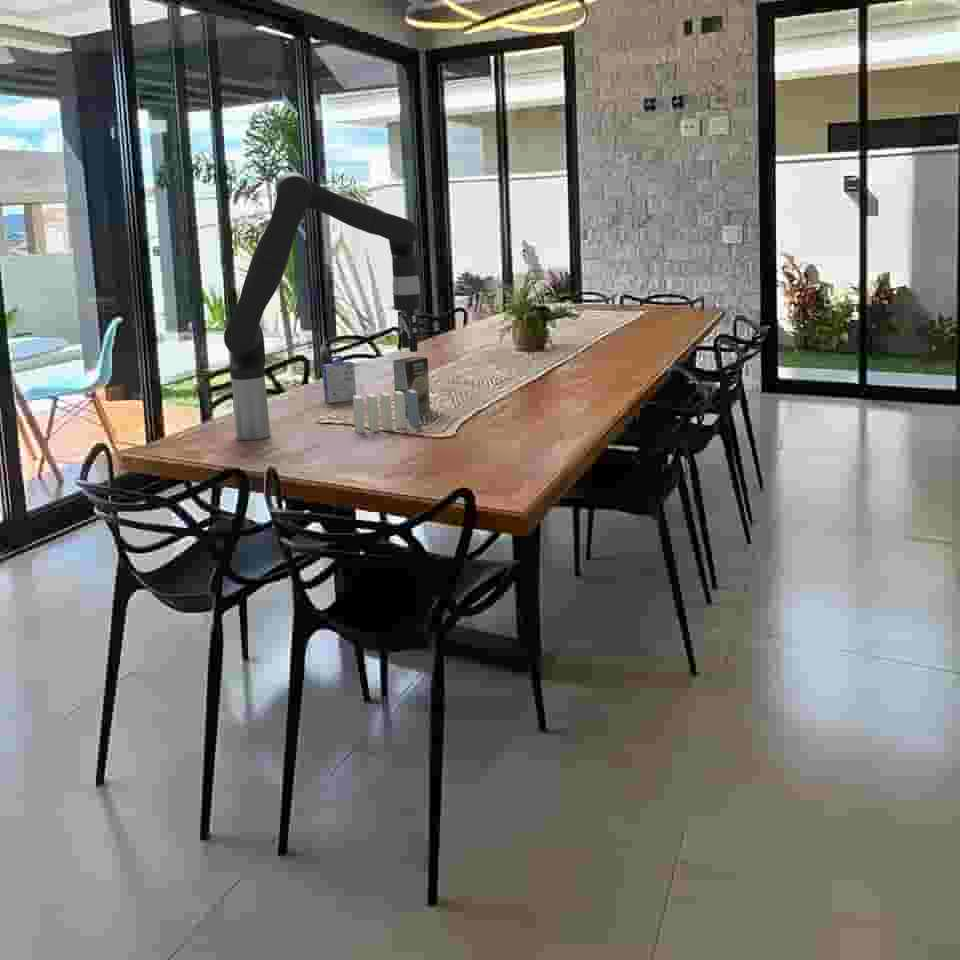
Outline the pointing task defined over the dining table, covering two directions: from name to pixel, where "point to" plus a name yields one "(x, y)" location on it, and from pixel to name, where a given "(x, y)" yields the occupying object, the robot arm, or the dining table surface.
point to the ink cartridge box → (338, 380)
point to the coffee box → (413, 379)
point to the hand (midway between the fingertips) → (409, 349)
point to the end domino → (413, 407)
